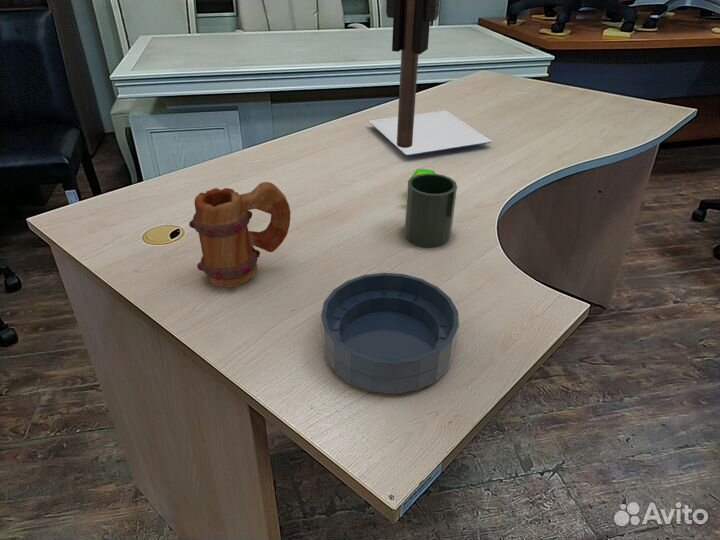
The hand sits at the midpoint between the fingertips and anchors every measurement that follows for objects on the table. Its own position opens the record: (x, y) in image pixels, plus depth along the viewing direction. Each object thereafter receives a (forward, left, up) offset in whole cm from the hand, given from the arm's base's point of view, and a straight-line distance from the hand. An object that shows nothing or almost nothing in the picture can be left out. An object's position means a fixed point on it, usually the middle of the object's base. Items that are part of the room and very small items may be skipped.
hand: (409, 49), depth 61 cm
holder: (0, -16, -34) cm, 38 cm away
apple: (+5, -28, -34) cm, 45 cm away
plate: (+14, -59, -34) cm, 70 cm away
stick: (0, 0, -12) cm, 12 cm away
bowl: (-4, +13, -34) cm, 37 cm away
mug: (+22, +7, -34) cm, 42 cm away
